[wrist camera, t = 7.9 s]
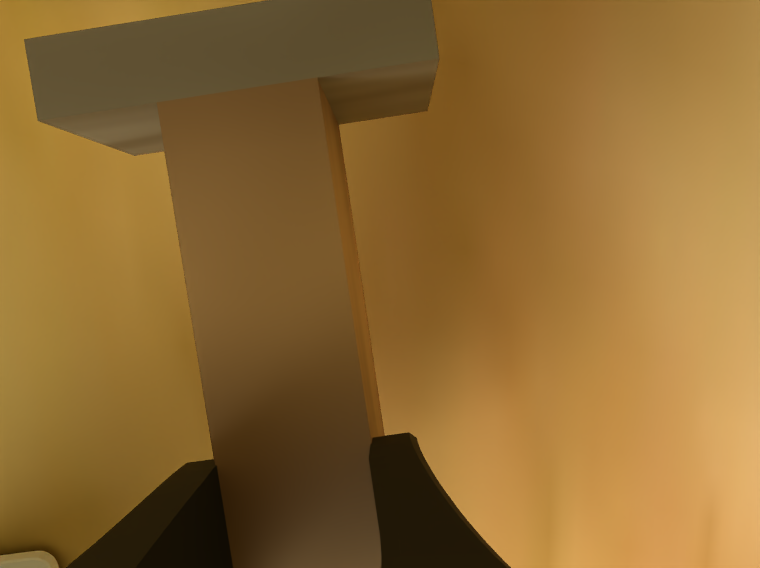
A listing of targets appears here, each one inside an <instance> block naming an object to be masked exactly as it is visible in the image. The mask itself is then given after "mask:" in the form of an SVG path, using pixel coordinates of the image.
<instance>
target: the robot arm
mask: <svg viewBox="0 0 760 568" xmlns="http://www.w3.org/2000/svg"><path fill="white" fill-rule="evenodd" d="M369 464H370V471H371V478H372V485H373V492H374V499H375V506H376V512H377V519H378V526H379V533H380V544H381V568H511V567H510V566H509V565H508V564H507V563H505V562H504V561H503V560H502V558H501V557H500V556H499V555H498V554H497V553H496V552H495V551H494V550H493V549H492V548H491V547H490V546H489V545H488V544H487V543H486V541H485V540H484V539H483V538H482V537H481V536H480V535H479V533H478V532H477V531H476V530H475V529H474V528H473V527H472V525H471V524H470V523H469V522H468V521H467V519H466V518H465V517H464V516H463V514H462V513H461V512H460V511H459V509H458V508H457V507H456V505H455V504H454V503H453V501H452V500H451V498H450V497H449V496H448V494H447V493H446V492H445V490H444V489H443V487H442V486H441V485H440V483H439V482H438V480H437V479H436V477H435V475H434V474H433V472H432V470H431V469H430V467H429V465H428V464H427V462H426V460H425V458H424V456H423V454H422V452H421V450H420V447H419V445H418V442H417V438H416V437H414V436H413V435H412V434H410V433H402V434H395V435H387V436H380V437H373V439H372V444H370V450H369ZM0 568H59V566H58V563H57V561H56V559H55V558H54V556H52V555H51V554H50V553H48V552H45V551H30V552H22V553H15V554H7V555H0ZM66 568H233V564H232V557H231V551H230V545H229V539H228V532H227V526H226V520H225V514H224V508H223V501H222V495H221V489H220V483H219V477H218V470H217V465H215V462H214V459H212V460H205V461H197V462H190V463H186V464H185V465H184V466H182V467H181V468H180V469H178V470H177V471H176V472H175V473H174V474H172V475H171V476H170V477H169V478H168V479H167V480H165V481H164V482H163V483H162V484H161V485H160V486H159V487H157V488H156V489H155V490H154V491H153V492H152V493H151V494H150V495H149V496H147V497H146V498H145V499H144V500H143V501H142V502H141V503H140V504H139V505H138V506H136V507H135V508H134V509H133V510H132V511H131V512H130V513H129V514H127V515H126V516H125V517H124V518H123V519H122V520H121V521H120V522H119V523H117V524H116V525H115V526H114V527H113V528H112V529H111V530H110V531H108V532H107V533H106V534H105V535H104V536H103V537H102V538H101V539H99V540H98V541H97V542H96V543H95V544H94V545H92V546H91V547H90V548H89V549H88V550H86V551H85V552H84V553H83V554H82V555H80V556H79V557H78V558H77V559H76V560H74V561H73V562H72V563H71V564H69V565H68V566H67V567H66Z"/></svg>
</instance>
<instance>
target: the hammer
mask: <svg viewBox="0 0 760 568" xmlns="http://www.w3.org/2000/svg"><path fill="white" fill-rule="evenodd" d="M24 42H25V48H26V54H27V59H28V65H29V71H30V77H31V83H32V89H33V95H34V101H35V106H36V112H37V118H38V121H40V122H42V123H45V124H48V125H51V126H54V127H56V128H59V129H62V130H65V131H67V132H70V133H73V134H76V135H78V136H81V137H84V138H87V139H89V140H92V141H95V142H98V143H101V144H103V145H106V146H109V147H112V148H114V149H117V150H120V151H123V152H125V153H128V154H131V155H134V156H136V155H143V154H149V153H156V152H162V151H165V158H166V164H167V170H168V176H169V182H170V189H171V195H172V201H173V207H174V213H175V220H176V226H177V232H178V238H179V245H180V251H181V257H182V263H183V269H184V276H185V282H186V288H187V294H188V300H189V307H190V313H191V319H192V325H193V331H194V338H195V344H196V350H197V356H198V363H199V369H200V375H201V381H202V387H203V394H204V400H205V406H206V412H207V418H208V425H209V431H210V437H211V443H212V449H213V456H214V462H215V465H217V470H218V477H219V483H220V489H221V495H222V501H223V508H224V514H225V520H226V526H227V532H228V539H229V545H230V551H231V557H232V564H233V568H381V544H380V533H379V526H378V519H377V512H376V506H375V499H374V492H373V485H372V478H371V471H370V464H369V450H370V444H372V439H373V437H380V436H384V429H383V422H382V415H381V409H380V402H379V395H378V388H377V381H376V375H375V368H374V361H373V354H372V347H371V341H370V334H369V327H368V320H367V314H366V307H365V300H364V293H363V286H362V280H361V273H360V266H359V259H358V253H357V246H356V239H355V232H354V225H353V219H352V212H351V205H350V198H349V192H348V185H347V178H346V171H345V164H344V158H343V151H342V144H341V137H340V131H339V124H345V123H352V122H358V121H365V120H371V119H378V118H384V117H391V116H397V115H404V114H411V113H417V112H424V111H428V106H429V102H430V97H431V93H432V89H433V84H434V80H435V75H436V71H437V66H438V62H439V53H438V46H437V38H436V31H435V24H434V17H433V10H432V3H431V0H267V1H261V2H255V3H249V4H242V5H236V6H230V7H224V8H217V9H211V10H205V11H199V12H192V13H186V14H180V15H174V16H167V17H161V18H155V19H149V20H142V21H136V22H130V23H124V24H117V25H111V26H105V27H99V28H92V29H86V30H80V31H74V32H67V33H61V34H55V35H49V36H42V37H36V38H30V39H24Z"/></svg>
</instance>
